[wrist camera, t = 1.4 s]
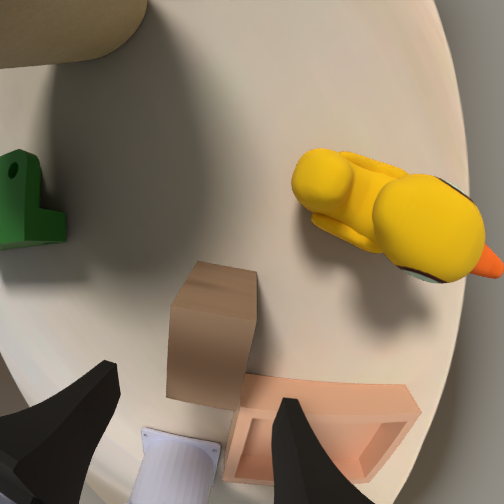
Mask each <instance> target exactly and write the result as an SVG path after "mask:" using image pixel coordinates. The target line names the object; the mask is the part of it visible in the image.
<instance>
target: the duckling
mask: <svg viewBox="0 0 504 504" xmlns="http://www.w3.org/2000/svg"><path fill="white" fill-rule="evenodd" d="M291 185H292V190H293V193H294V195H295V197H296V198H297V200H298V201H299V202H300V203H301V204H302V205H303V206H304V207H305V208H307V209H308V210H310V211H311V212H313V214H312V216H311V221H312V222H313V224H315V225H316V226H317V227H319V228H320V229H322V230H324V231H326V232H328V233H330V234H332V235H334V236H337V237H339V238H341V239H343V240H345V241H347V242H349V243H351V244H352V245H354V246H356V247H358V248H360V249H362V250H365V251H368V252H371V253H377V254H378V253H382V252H383V253H384V254H385V255H386V257H387V258H388V259H389V260H390V261H391V262H392V263H393V264H395V265H396V266H397V267H399V268H400V269H401V270H403V271H405V272H406V273H408V274H410V275H412V276H414V277H416V278H418V279H421V280H423V281H427V282H431V283H450V282H454V281H457V280H459V279H461V278H463V277H465V276H466V275H468V274H469V273H471V274H474V275H479V276H483V277H488V278H494V279H496V278H499V277H500V276H501V275H502V274H503V271H504V265H503V262H502V261H501V260H500V259H499V257H498V256H497V255H496V254H495V253H494V252H493V251H492V250H491V249H490V248H489V247H488V246H487V245H486V244H485V229H484V223H483V220H482V217H481V214H480V212H479V210H478V209H477V207H476V205H475V204H474V202H473V201H472V200H471V199H470V197H469V196H468V195H467V194H465V193H464V192H463V191H462V190H461V189H459V188H458V187H456V186H455V185H453V184H451V183H449V182H447V181H445V180H443V179H441V178H438V177H435V176H431V175H425V174H411V175H409V174H408V173H407V172H405V171H404V170H402V169H400V168H397V167H395V166H392V165H389V164H385V163H382V162H379V161H376V160H373V159H370V158H367V157H364V156H361V155H358V154H355V153H352V152H346V151H342V152H339V153H338V152H335V151H332V150H329V149H313V150H310V151H308V152H306V153H305V154H304V155H303V156H302V157H301V158H300V160H299V161H298V163H297V165H296V167H295V170H294V172H293V176H292V181H291Z"/></svg>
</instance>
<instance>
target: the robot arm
mask: <svg viewBox="0 0 504 504" xmlns="http://www.w3.org/2000/svg"><path fill="white" fill-rule="evenodd" d="M120 395H121V393H120V386H119V379H118V371H117V364H116V363H113V362H109V361H106V360H103V361H102V362H101V363H99V364H98V365H97V366H95V367H94V368H93V369H91V370H90V371H89V372H87V373H86V374H85V375H83V376H82V377H81V378H79V379H78V380H77V381H75V382H74V383H72V384H71V385H69V386H68V387H67V388H65V389H63V390H62V391H60V392H59V393H57V394H55V395H54V396H52V397H50V398H49V399H47V400H45V401H43V402H41V403H39V404H37V405H34V406H32V407H30V408H27V409H25V410H22V411H20V412H17V413H13V414H10V415H6V416H2V417H0V504H79V500H80V495H81V492H82V488H83V484H84V481H85V477H86V474H87V471H88V468H89V465H90V462H91V459H92V456H93V454H94V451H95V449H96V447H97V445H98V443H99V441H100V439H101V437H102V435H103V433H104V432H105V430H106V428H107V426H108V424H109V422H110V420H111V418H112V416H113V414H114V412H115V409H116V407H117V404H118V401H119V398H120ZM141 434H142V444H143V452H144V457H143V460H142V463H141V466H140V469H139V472H138V475H137V478H136V481H135V484H134V487H133V490H132V493H131V496H130V499H129V502H128V504H208V502H209V494H210V487H211V486H213V482H214V477H215V473H216V468H217V464H218V459H219V454H220V450H221V445H220V444H219V443H216V442H210V441H204V440H199V439H193V438H188V437H184V436H179V435H175V434H170V433H166V432H162V431H158V430H154V429H150V428H146V427H143V428H142V430H141ZM271 451H272V465H273V478H274V504H375V503H373V502H372V501H371V500H370V499H368V498H367V497H366V496H365V495H363V494H362V493H361V492H360V491H359V490H358V489H357V488H356V487H355V486H354V485H353V484H352V483H351V482H350V481H349V480H348V479H347V478H346V477H345V476H344V475H343V474H342V473H341V471H340V470H339V469H338V468H337V466H336V465H335V464H334V463H333V461H332V460H331V459H330V457H329V456H328V454H327V453H326V451H325V450H324V448H323V447H322V445H321V444H320V442H319V440H318V439H317V437H316V435H315V433H314V431H313V430H312V428H311V426H310V424H309V422H308V420H307V418H306V416H305V414H304V412H303V409H302V407H301V405H300V402H299V400H298V399H296V398H285V397H283V399H282V401H281V404H280V407H279V409H278V412H277V414H276V417H275V420H274V422H273V425H272V437H271ZM124 504H127V503H124Z"/></svg>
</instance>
